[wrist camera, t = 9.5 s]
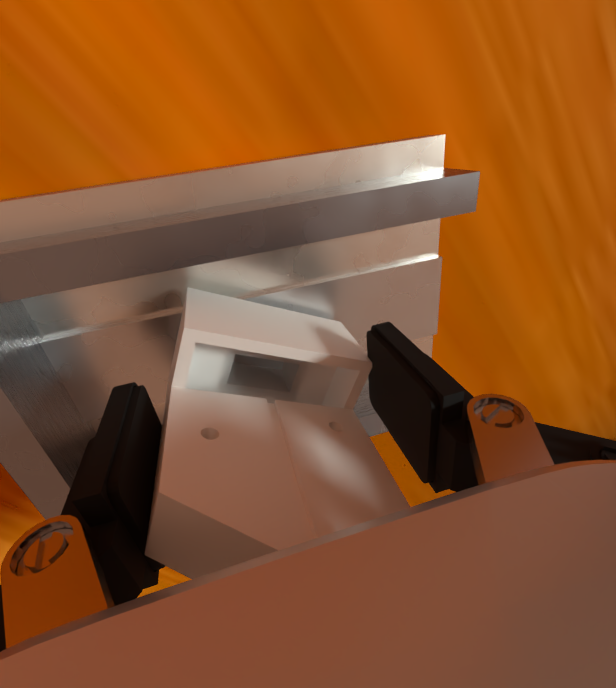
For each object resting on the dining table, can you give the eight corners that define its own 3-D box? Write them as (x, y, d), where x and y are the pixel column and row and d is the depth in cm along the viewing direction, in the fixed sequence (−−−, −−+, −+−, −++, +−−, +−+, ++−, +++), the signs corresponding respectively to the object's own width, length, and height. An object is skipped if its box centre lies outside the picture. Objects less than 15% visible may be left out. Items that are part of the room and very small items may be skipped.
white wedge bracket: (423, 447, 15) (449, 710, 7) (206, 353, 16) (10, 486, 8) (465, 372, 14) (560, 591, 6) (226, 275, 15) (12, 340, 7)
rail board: (429, 135, 13) (508, 131, 10) (418, 392, 19) (465, 444, 16) (-59, 209, 11) (-179, 237, 7) (104, 479, 17) (80, 563, 13)
